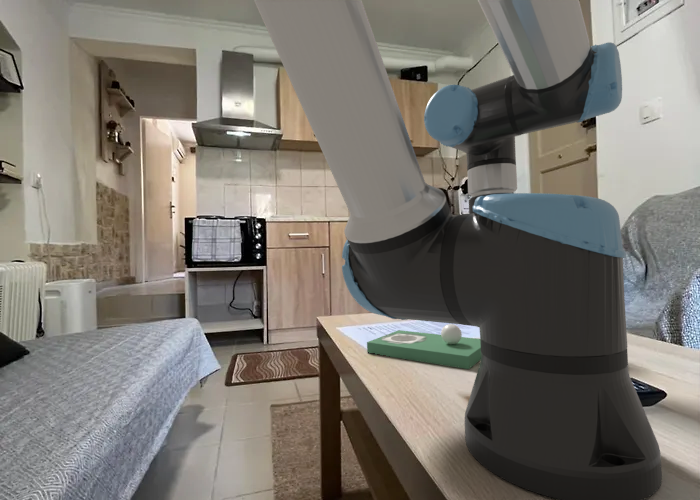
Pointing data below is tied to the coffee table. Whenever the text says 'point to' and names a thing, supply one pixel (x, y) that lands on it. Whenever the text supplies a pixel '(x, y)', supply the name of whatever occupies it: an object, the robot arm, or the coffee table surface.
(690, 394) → the coffee table surface
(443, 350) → the putting strip
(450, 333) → the ball
